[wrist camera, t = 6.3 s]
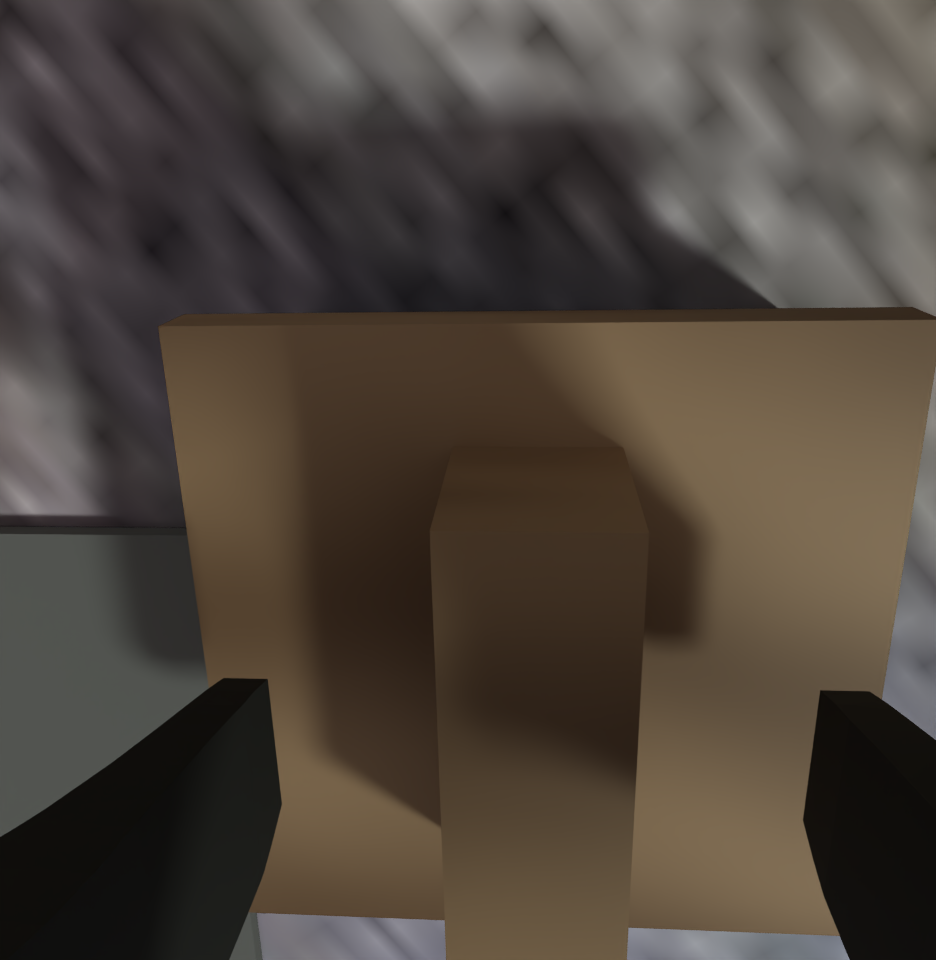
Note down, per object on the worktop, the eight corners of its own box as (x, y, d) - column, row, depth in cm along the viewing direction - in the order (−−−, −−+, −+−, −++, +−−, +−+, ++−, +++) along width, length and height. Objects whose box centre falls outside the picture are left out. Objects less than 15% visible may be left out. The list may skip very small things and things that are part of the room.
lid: (825, 890, 16) (913, 1112, 12) (256, 869, 17) (177, 1074, 13) (912, 307, 13) (1073, 373, 9) (184, 314, 13) (47, 378, 10)
